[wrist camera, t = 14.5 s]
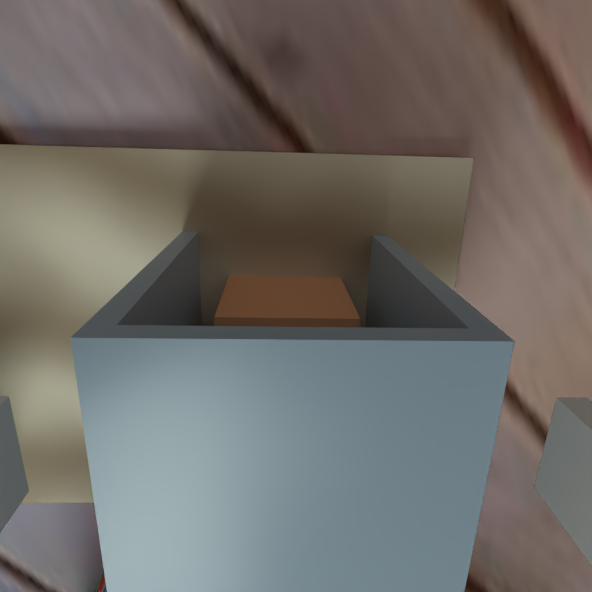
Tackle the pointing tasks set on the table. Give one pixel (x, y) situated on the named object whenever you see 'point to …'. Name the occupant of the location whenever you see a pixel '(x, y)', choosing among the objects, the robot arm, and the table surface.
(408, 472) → the hollow pale blue box
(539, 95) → the table surface
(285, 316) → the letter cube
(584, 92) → the table surface
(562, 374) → the table surface
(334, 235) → the birch board
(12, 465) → the robot arm
